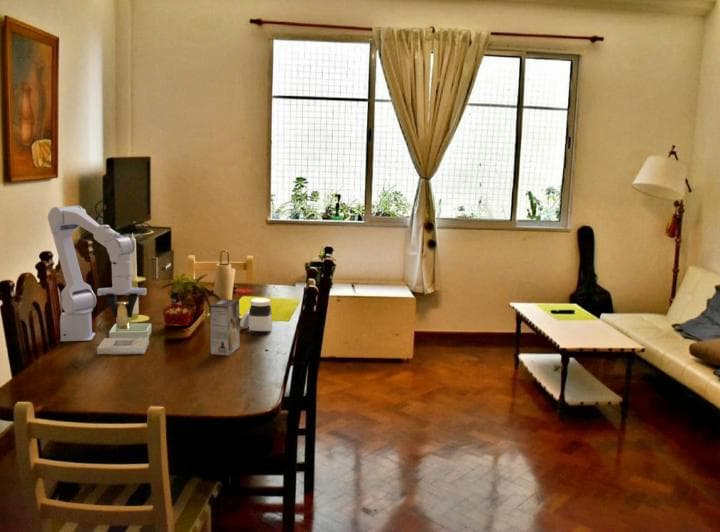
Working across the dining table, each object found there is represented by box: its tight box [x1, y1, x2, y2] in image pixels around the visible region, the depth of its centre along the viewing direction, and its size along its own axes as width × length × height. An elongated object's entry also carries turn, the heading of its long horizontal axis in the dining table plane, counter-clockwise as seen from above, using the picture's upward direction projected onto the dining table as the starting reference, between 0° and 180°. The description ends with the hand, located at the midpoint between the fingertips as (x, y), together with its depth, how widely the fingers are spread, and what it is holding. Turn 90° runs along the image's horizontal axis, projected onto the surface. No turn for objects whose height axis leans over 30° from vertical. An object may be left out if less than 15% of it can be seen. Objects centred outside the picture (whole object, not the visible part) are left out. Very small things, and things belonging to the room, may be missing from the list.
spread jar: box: [239, 297, 273, 336], centre depth 238 cm, size 12×11×12 cm
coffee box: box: [209, 298, 241, 356], centre depth 214 cm, size 9×6×16 cm
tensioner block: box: [96, 337, 150, 356], centre depth 214 cm, size 14×11×2 cm
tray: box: [108, 323, 153, 339], centre depth 228 cm, size 12×10×3 cm
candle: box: [130, 232, 150, 324], centre depth 246 cm, size 10×10×32 cm
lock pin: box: [115, 301, 131, 329], centre depth 213 cm, size 4×4×8 cm
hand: (123, 317), depth 213 cm, fingers closed on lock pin, 4 cm apart
